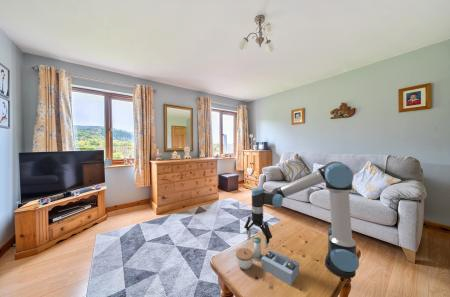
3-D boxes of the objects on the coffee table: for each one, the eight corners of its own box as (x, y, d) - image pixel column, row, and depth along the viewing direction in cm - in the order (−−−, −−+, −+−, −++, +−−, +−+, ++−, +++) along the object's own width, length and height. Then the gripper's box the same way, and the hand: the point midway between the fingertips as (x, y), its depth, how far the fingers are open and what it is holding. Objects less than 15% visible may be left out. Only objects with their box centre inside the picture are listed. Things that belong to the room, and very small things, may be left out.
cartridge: (256, 252, 113) (256, 236, 113) (262, 255, 109) (262, 239, 109) (252, 255, 109) (252, 239, 109) (258, 259, 106) (258, 242, 106)
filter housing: (271, 258, 107) (271, 249, 107) (299, 273, 95) (299, 262, 95) (261, 268, 99) (261, 258, 99) (290, 285, 86) (291, 274, 86)
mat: (264, 256, 109) (264, 255, 109) (259, 261, 104) (259, 260, 104) (255, 251, 114) (255, 251, 114) (250, 256, 109) (250, 255, 109)
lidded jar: (247, 275, 93) (246, 258, 93) (232, 266, 100) (232, 251, 100) (256, 264, 102) (256, 249, 101) (242, 257, 109) (242, 243, 108)
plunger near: (294, 271, 92) (294, 263, 92) (292, 274, 90) (292, 266, 90) (289, 268, 94) (289, 260, 94) (287, 271, 92) (287, 263, 92)
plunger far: (273, 260, 101) (273, 253, 101) (270, 262, 99) (270, 255, 99) (268, 257, 103) (269, 250, 103) (266, 260, 101) (266, 253, 101)
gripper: (239, 208, 115) (239, 238, 115) (271, 219, 98) (271, 254, 98) (245, 205, 120) (245, 234, 121) (277, 215, 103) (277, 248, 103)
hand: (257, 243), depth 109 cm, fingers open, 13 cm apart
